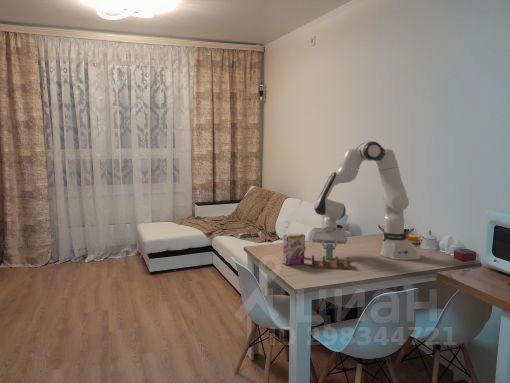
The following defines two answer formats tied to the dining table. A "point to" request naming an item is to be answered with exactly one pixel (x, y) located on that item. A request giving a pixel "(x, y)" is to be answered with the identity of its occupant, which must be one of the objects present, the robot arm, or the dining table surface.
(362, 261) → the dining table surface
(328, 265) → the rack
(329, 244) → the teal rectangular block
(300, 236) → the candy bar box
